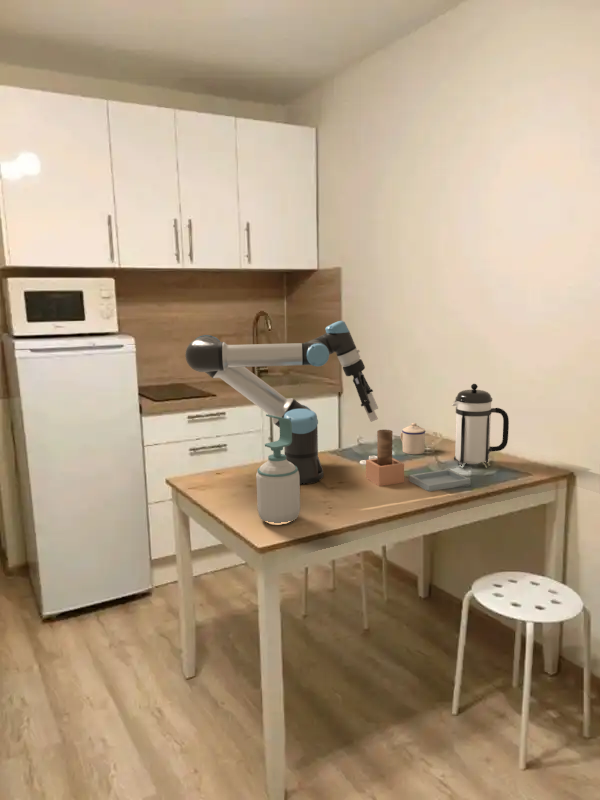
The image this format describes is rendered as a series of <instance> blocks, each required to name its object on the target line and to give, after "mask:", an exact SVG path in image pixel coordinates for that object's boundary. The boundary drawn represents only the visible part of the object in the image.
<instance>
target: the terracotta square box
mask: <svg viewBox="0 0 600 800" xmlns="http://www.w3.org/2000/svg"><path fill="white" fill-rule="evenodd" d="M365 460H366V465H365V479H367V480H368V481H370V482H371V483H373V484H375V485H377V486H378V487H382V486H389V485H396V484H401V483H402V484H403V483H405V463H403V462H402V461H399V460H398V459H396V458H395V457H392V464H391V465H384V466H380V465H378V464H377V459H369V458H368V459H365Z"/></svg>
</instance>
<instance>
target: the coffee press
mask: <svg viewBox="0 0 600 800" xmlns="http://www.w3.org/2000/svg"><path fill="white" fill-rule="evenodd" d="M478 387H479V386H478V384H476V383H472V384H471V386H470V388H471V389H465V390H461V391H459V392H458V393H457V395H456V396H455V399H454V400H453V402H452V404H451V406H452V407H455V446H454V447H455V448H454V449H455V450H454V451H455V452H454V453H455V454H454V457H453V460H454V461H455V460H456V459H457V461H458V462H459V463H458V465H461V466H462V464H463V463H467V464H466V465H476V464H475V463H480V462H485V461H486V462H485V464H487V462H488V461H489V460H488V459H490V453H491V452H500V451H503V450H504V449H505V448H506V446H508V440H509V424H510V423H509V422H510V421H509V419H510V418H509V415H508V413H507V412H506V411H505V409H503V408H499V407H495V408H494V407H492V402H493V398H492V395H491V393H489V392H488V391H486V390H481V389H478ZM492 413H496V414H500V415H501V416H502V419H503V423H502V440H501V442H500V444H499V445H496V446H490V445H491V443H490V442H491V440H490V439H491V422H492V421H491V415H492Z"/></svg>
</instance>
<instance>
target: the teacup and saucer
mask: <svg viewBox="0 0 600 800" xmlns="http://www.w3.org/2000/svg"><path fill="white" fill-rule="evenodd" d="M369 459H377V455H368V460H369ZM366 460H367V459H364V460H363V459H362V460H360V461H359V464H360V465H362V466H366Z"/></svg>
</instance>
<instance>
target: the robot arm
mask: <svg viewBox="0 0 600 800" xmlns="http://www.w3.org/2000/svg"><path fill="white" fill-rule="evenodd" d="M360 352H361V351H360V349H357V346H356V344H355V341H354V339H353V337H352V334H351V332H350V329H349V328H348V326H347V324H346V322H345V321H344V320H338V321H336V322H333V323H331V324H329V325H326V327H325V333H323V334H322V335H320V336H318V337H315V338H313V339H310V340H307V341H305V342H304V343H303V342H300V343H299V342H298V343H297V342H296V343H294V342H293V343H259V344H255V343H253V344H250V343H249V344H246V343H245V344H227V343H226V342H225V341H220V340H219V338H218V337H215V336H212V335H209V334H204V335H200V336H197V337H196V338H195V339H194V340H192V341H191V342H190V343H189V344H188V346H187V347H186V350H185V353H184V354H185V360H186V363H187V364H188V366H189V367H190V368H191V369H192V370H194V371H195V372H198V373H205V374H206V375H208V376H209V377H211V378H212V379H220V380H222V381H223V382H225V383H226V384H227V385H229V386H230V387H231V388H233V389H234V390H235V391H236V392H238V393H239V394H241V395H242V396H243V397H244V398H246V399H247V400H248V401H250V402H251V403H253V404H254V405H255V406H257V407H258V408H259V409H261V410H262V411H263V412H265V414H267V415H273V416H278V417H282V418H286V419H289V420H290V421H291V423H292V443H291V445H289V446H286V447H283V450H284V455H286V460H287V461H289V462H291V463H292V464H294V465H295V466H296V467H297V468H298V472H299V478H300V485H306V484H305V483H310V484H314V482H315V483H317V481H318V482H320V481H321V480H322V479H323V478H324V469H323V467H322V463H321V461H320V458H319V441H318V440H319V439H318V437H319V435H318V424H319V420H318V415H317V413H316V412H315V411H314V410H312V409H311V408H310V407H308V406H307V405H304V404H301V403H300V402H299V401H297V400H296V399H295V398H292V397H289V398H286V397H285V396H284V395H283V394H281V393H280V392H279V391H277V390H276V389H275V388H274V387H272V386H271V385H269V384H268V383H267V382H265V381H264V380H263V379H261V378H260V377H259V376H257V375H256V374H255V373H253V372H252V371H251V370H250V369H248V368H247V367H249V368H250V367H254V368H255V367H284V366H287V367H288V366H314V367H322V366H324V365H325V364H327V363H328V361H329V358H330V355H332V354H334V353H336V357H337V359H338V361H339V364H340V366H342V369H343V372H344V374H345V376H346V377H351V376H352V377H353V379H352V382H353V384H354V386H355V388H356V392H357V395H358V397H359V399H360V402H361V404H360V406H361V407H363V408H364V410H365V412H366V414H367V417H368V419H369V422H374V421H377V420H378V419H379V418H378V416H377V413H376V410H378V409H379V406H378V404H377V402H376V400H375V397H374V395H373V393H372V392H374V390H373V388H371V387H370V386H369V383H368V382H367V381H368V380H367V379H366V377H365V375H364V374H363V371H364V370H365V368H366V366H365V364H364V361H363V359H361V355H360ZM272 423H273V425H275V426H277V428H279V429H280V424H279V420H278V419H276V418H272ZM302 483H303V484H302Z"/></svg>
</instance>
